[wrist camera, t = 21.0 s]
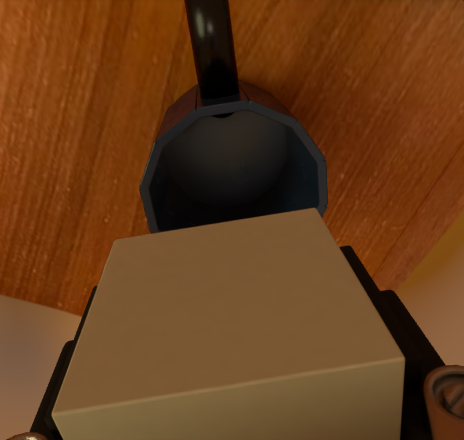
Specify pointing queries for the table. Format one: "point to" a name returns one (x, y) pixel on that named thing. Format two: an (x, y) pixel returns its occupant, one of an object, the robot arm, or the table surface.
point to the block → (232, 340)
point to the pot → (227, 143)
